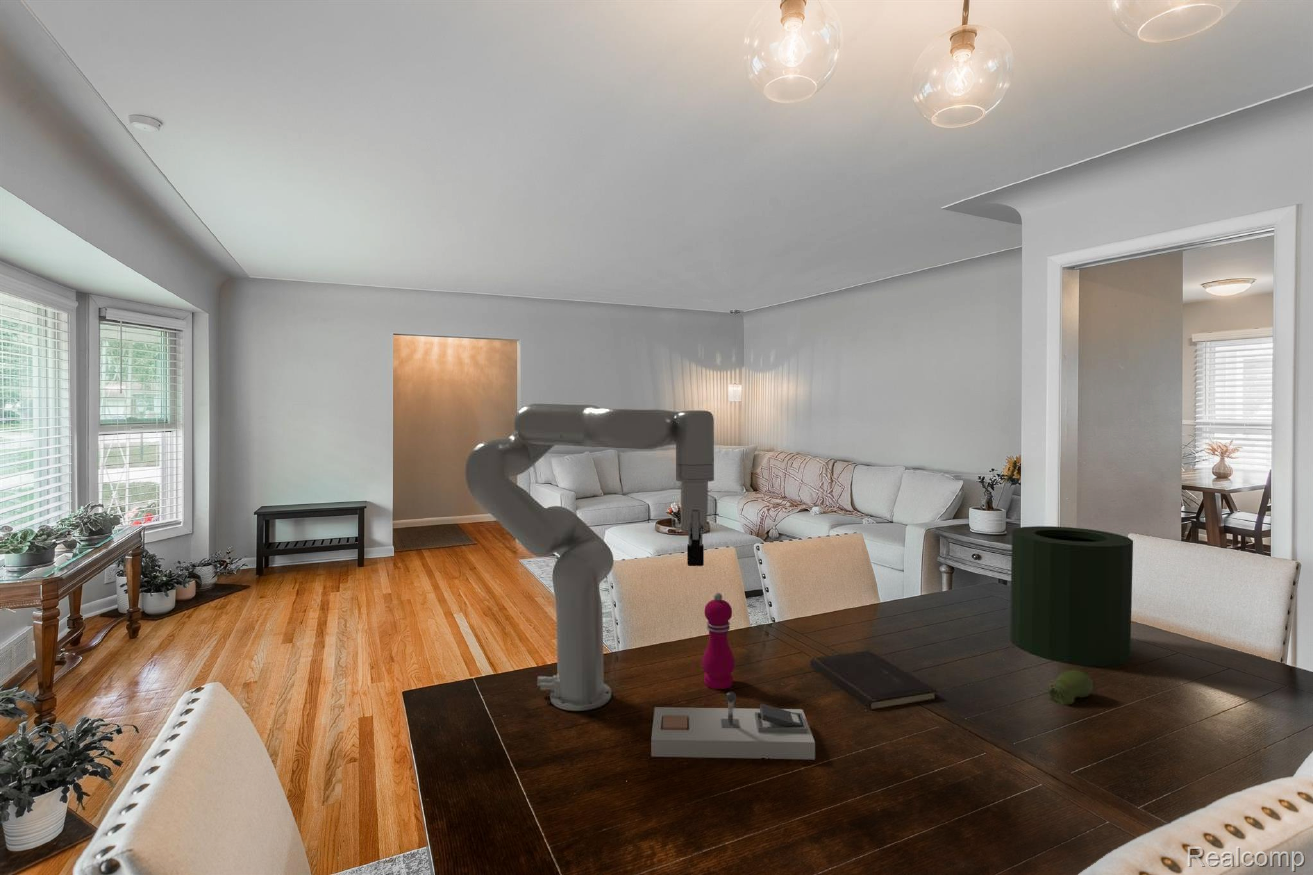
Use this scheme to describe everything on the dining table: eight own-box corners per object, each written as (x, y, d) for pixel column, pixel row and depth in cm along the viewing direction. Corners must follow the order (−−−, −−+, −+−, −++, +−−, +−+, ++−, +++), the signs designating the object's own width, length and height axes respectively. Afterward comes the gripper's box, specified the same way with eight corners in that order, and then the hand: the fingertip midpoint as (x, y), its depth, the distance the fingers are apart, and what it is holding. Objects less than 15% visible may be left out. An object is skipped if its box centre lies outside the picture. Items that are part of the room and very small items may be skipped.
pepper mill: (733, 691, 136) (733, 598, 135) (699, 689, 137) (699, 596, 136) (736, 677, 143) (736, 589, 142) (704, 675, 144) (703, 587, 143)
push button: (662, 742, 114) (662, 726, 114) (663, 729, 119) (663, 715, 118) (687, 742, 114) (687, 727, 114) (687, 730, 118) (687, 715, 118)
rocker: (762, 720, 113) (763, 714, 113) (759, 708, 118) (761, 703, 117) (800, 730, 113) (802, 725, 113) (796, 718, 117) (798, 713, 117)
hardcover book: (869, 659, 154) (869, 650, 154) (937, 701, 132) (937, 690, 132) (810, 668, 149) (810, 658, 149) (870, 712, 127) (870, 701, 127)
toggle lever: (725, 726, 115) (726, 697, 112) (725, 718, 117) (725, 689, 114) (735, 726, 115) (736, 697, 112) (734, 718, 116) (735, 689, 114)
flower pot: (1125, 640, 163) (1128, 531, 162) (1135, 675, 142) (1138, 550, 141) (1013, 623, 177) (1014, 523, 176) (1006, 653, 156) (1008, 539, 154)
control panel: (651, 756, 111) (651, 734, 110) (654, 722, 123) (654, 703, 122) (814, 759, 109) (814, 737, 109) (802, 724, 121) (802, 705, 121)
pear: (1097, 672, 131) (1067, 689, 126) (1099, 696, 131) (1069, 714, 127) (1070, 662, 136) (1040, 678, 131) (1071, 685, 136) (1042, 702, 132)
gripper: (676, 469, 134) (677, 556, 134) (675, 477, 119) (675, 574, 120) (712, 469, 133) (713, 556, 134) (715, 476, 118) (716, 574, 119)
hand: (695, 564), depth 127 cm, fingers closed
